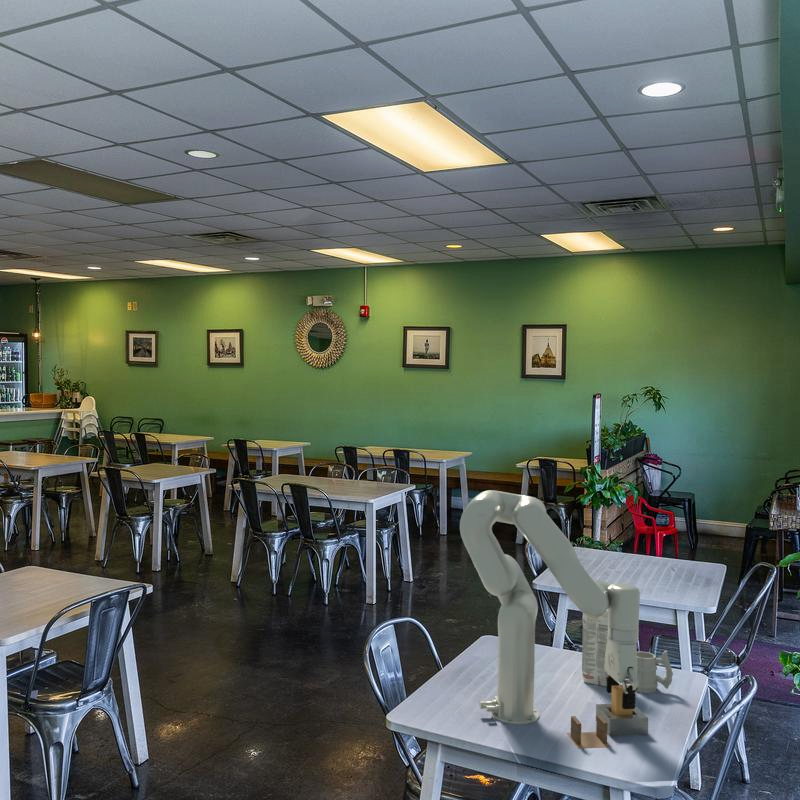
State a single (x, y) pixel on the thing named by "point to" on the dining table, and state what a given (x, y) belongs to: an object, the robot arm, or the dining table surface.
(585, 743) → the tan u-shaped piece
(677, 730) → the dining table surface
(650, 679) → the mug
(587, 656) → the juice carton
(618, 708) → the plug
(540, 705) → the dining table surface
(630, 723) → the port block
